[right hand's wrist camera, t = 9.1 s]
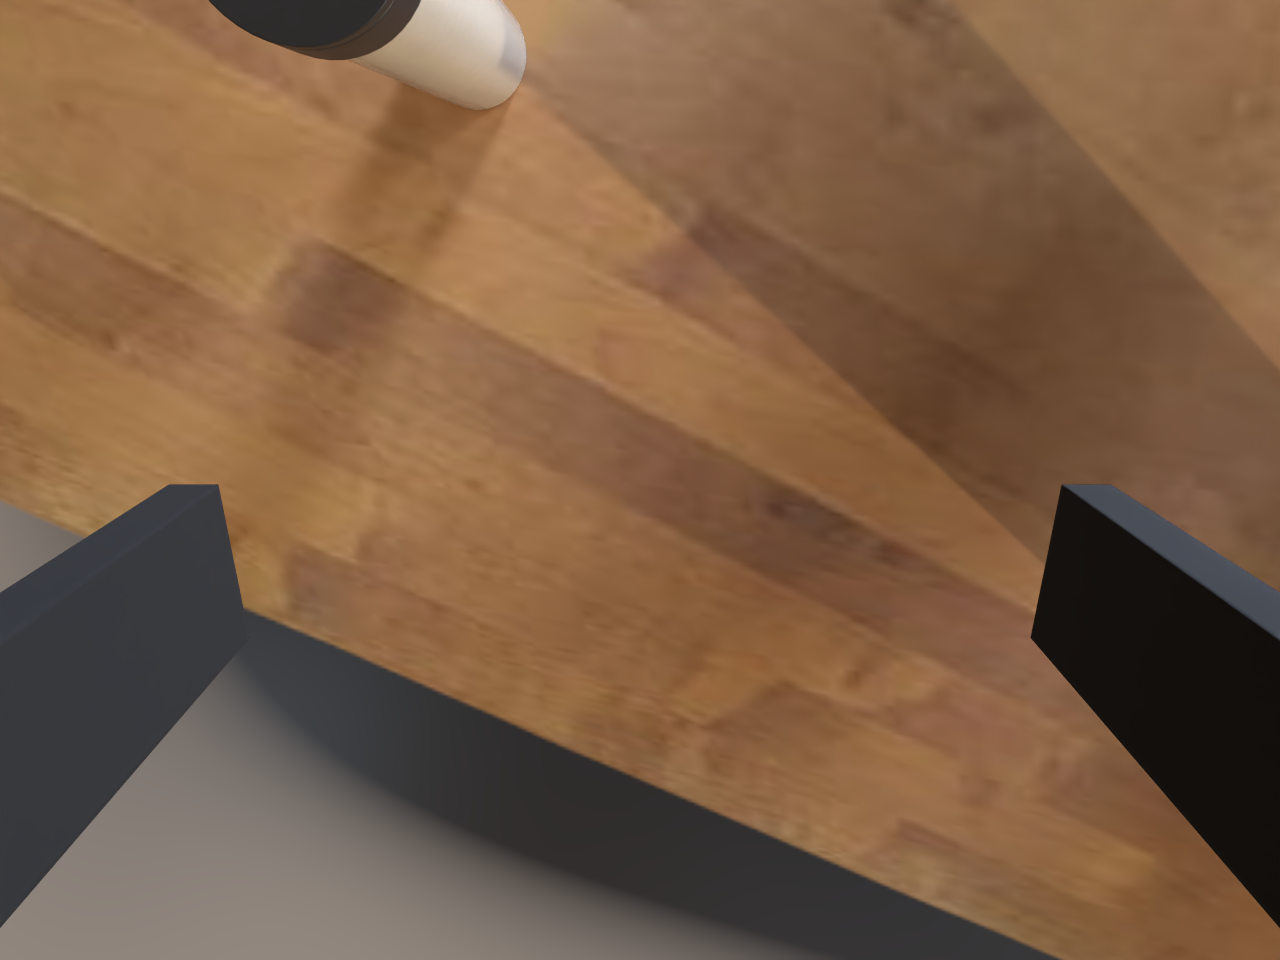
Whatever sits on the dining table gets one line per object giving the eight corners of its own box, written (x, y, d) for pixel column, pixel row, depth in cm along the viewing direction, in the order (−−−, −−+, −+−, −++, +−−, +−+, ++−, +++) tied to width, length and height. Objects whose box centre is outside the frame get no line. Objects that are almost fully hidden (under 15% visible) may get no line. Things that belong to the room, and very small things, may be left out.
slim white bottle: (465, 131, 35) (288, 81, 18) (400, 36, 34) (140, -119, 16) (547, 68, 34) (445, -50, 17) (483, -33, 33) (301, -272, 15)
